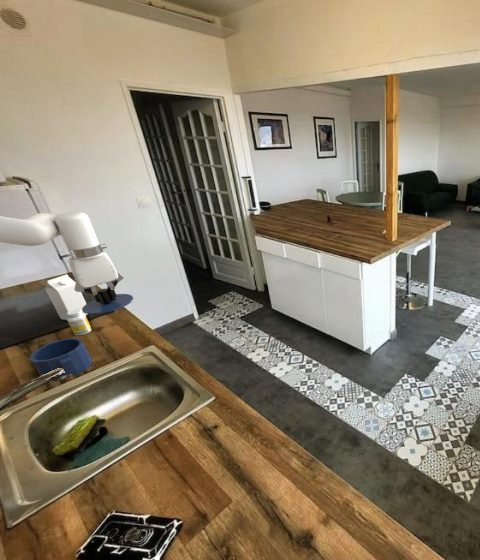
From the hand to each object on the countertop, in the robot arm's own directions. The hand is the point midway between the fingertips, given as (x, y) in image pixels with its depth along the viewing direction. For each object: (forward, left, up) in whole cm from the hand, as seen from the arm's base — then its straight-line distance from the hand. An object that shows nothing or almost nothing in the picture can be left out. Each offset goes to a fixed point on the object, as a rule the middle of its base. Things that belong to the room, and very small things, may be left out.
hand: (107, 300), depth 107 cm
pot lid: (0, 0, -1) cm, 1 cm away
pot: (-16, +5, -21) cm, 27 cm away
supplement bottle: (-6, +29, -22) cm, 37 cm away
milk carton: (-4, +47, -22) cm, 52 cm away
